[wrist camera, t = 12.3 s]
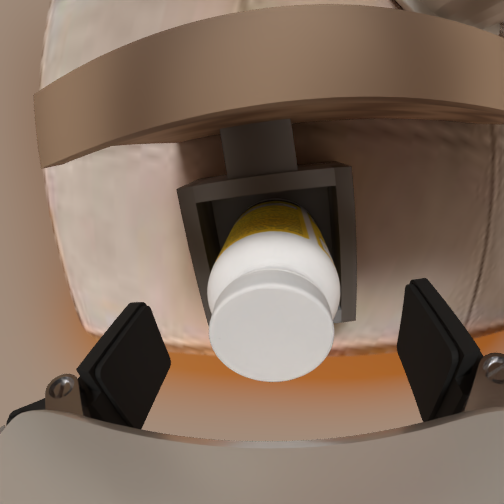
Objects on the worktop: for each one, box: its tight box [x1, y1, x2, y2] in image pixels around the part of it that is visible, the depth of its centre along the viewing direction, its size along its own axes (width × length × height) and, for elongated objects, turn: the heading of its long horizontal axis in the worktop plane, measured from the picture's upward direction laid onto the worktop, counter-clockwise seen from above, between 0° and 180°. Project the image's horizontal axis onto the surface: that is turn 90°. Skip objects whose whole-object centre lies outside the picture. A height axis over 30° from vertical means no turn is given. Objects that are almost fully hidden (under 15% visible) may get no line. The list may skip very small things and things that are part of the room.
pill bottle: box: [207, 198, 340, 382], centre depth 15 cm, size 6×6×11 cm
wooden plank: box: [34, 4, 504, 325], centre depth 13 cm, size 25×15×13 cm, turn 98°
